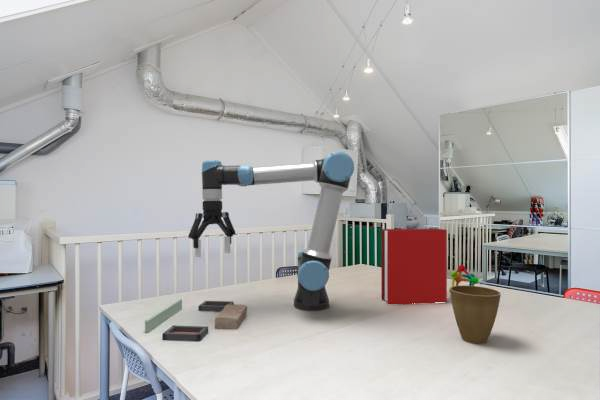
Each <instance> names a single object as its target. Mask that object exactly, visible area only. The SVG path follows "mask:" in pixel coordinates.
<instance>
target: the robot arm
mask: <svg viewBox="0 0 600 400" xmlns="http://www.w3.org/2000/svg"><path fill="white" fill-rule="evenodd" d="M201 167H202V168H201V183H202V187H201V188H202V191H201V192H202V193H201V194H202V200H203V201H202V211H203V212H202V213H201V212H197V213H195V218H194V222H193V224H192V226H191V229H190V231H189V233H188V235H187V236H188V237H187V238H188V239H191V240H192V241H193V243H192V246H193V249H194V252H195V253H194V256H195V257H197V258H202V240H201V239H200V238H201V236H202V235H203V233H204V232H205V231H206V229H207V227H208V226H209V225H217V226H218V228H220V230H221V231H222V232H223V233H224V235H225V236H224V237H223V238H224V253H227V254H230V253H231V245H232V237H233V236H234V235H236V230H235V228H234V225H233V223H232V221H231V219H230V215H229V212H228V211H223V212H222V210H223V201H222V200H223V186H226V185H227V186H232V185H233V186H234V185H236V186H239V187H247V186H256V185H268V184H269V185H271V184H272V185H273V184H282V183H283V184H284V183H297V182H298V183H299V182H311V181H313V182H315V183H318V184H319V186H320V193H319V197H318V201H317V205H316V210H315V214H314V218H313V223H312V227H311V230H310V231H311V232H310V236H309V240H308V244H307V247H306V248H305V249H303V250H302V251H299V252H298V253H297V275H296V276H297V290H296V293H295V296H294V298H293V306H294V307H295V309H297V310H298V309H299V310H303V311H321V310H326V309H328V308H330V299H329V295H328V292H327V289H326V285H327V283H328V282H329V278H330V273H329V272H330V268H331V267H330V266H331V262H332V256H331V254H330V250H331V245H332V242H333V238H334V237H333V236H334V232H335V229H336V228H335V227H336V224H337V220H338V215H339V212H340V208H341V207H340V206H341V202H342V197H343V194H344V193H345V192H346V191H348V190H349V186H350V181H351V177H352V176H353V174H354V172H355V163H354V160H353V158H352V157H351V156H350V155H349V154H348V153H346V152H344V151H338V150H337V151H334V152H333V151H332V152H331V153H329V154H328V155H326V157H324V158H323V159H315V160H314V161H312V162H304V163H293V164H290V163H289V164H280V165H268V166H267V165H265V166H254V167H252V166H251V165H245V164H242V165H223V162H222V161H221V160H213V159H211V160H204V161H202V164H201ZM202 219H203V220H202Z"/></svg>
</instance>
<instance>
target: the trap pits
mask: <svg viewBox="0 0 600 400" xmlns="http://www.w3.org/2000/svg"><path fill="white" fill-rule="evenodd" d="M226 305H235V303H234V301H230V300H229V301H228V300H226V301H225V300H222V301H221V300H204V301H203V302H202V303H200V304H199V305H198V306H197V307H198V311H199V312H219V313H220V312H221V311H222V310H223V309H224V307H225V306H226ZM198 311H197V312H198ZM207 334H209V326H202V325H201V326H200V325H197V326H196V325H171V326H170V327H169V328H168V329H166V330H165V331H164V332H162V334H161V335H162V338H161V339H162V340H163V341H181V342H182V341H183V342H184V341H185V342H186V341H187V342H188V341H189V342H201V341H202V339H203V338H204V337H206V335H207Z"/></svg>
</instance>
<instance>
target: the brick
mask: <svg viewBox="0 0 600 400" xmlns="http://www.w3.org/2000/svg"><path fill="white" fill-rule="evenodd" d="M247 313H248V305H247V304H239V303H238V304H236V303H234V305H226V306H225V307H224V309H223V310H222V311H221V312H220V311H219V312H218V313H217V314H216V316H214V318H215V319H214V329H216V330H232V331H233V330H237V329H238V328H239V327H240V325H241V324H242V323H243V321H244V319H245V318H246V316H247Z"/></svg>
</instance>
